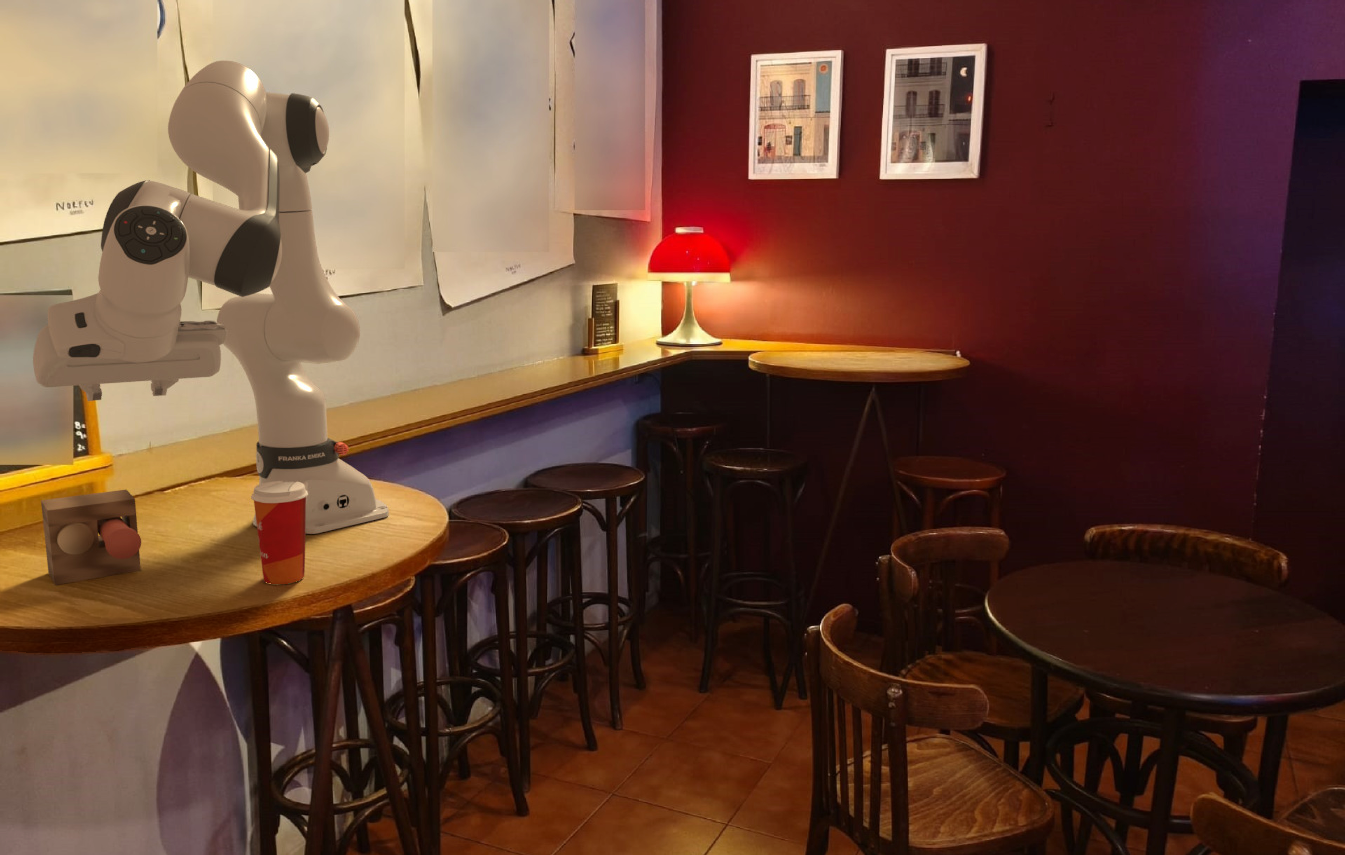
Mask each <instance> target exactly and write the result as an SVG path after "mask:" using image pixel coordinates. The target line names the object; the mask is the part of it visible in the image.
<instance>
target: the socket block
mask: <svg viewBox="0 0 1345 855" xmlns="http://www.w3.org/2000/svg"><path fill="white" fill-rule="evenodd" d="M40 505H41V513H42V523H43V532H44V541H45V542H44V543H45V552H46V562H47V571H48V574H49V577H50V578H51V581H52V582H53V585H54V586H58V585H63V584H68V583H75V582H81V581H86V580H92V579H98V578H103V577H109V576H115V575H121V574H127V573H131V572H132V573H133V572H137V571H138V572H139V571H142V569H141V567H142V566H141V557H140V556H141V555H140V550H139V551H138V552H137V553H136V554H135V555H133V556H132V557H130V558H126V559H117V558H114V557H112V556H111V555H110V554H109V553H108V551H107V550H106V547H105V542H104V540H103V539H102V538H101V536H100V535H99V533H98V528H97V520H101V519H108V518H115V517H121V519H122V520H123V521H124V522H125V523H126V525H127V526H128V527H129V528H131V529H133V530H135V531H136V532H137V533H138V534H139V531H138V530H139V529H138V520H137V518H138V517H137V508H136V498H135V497H134V496H133V495H132V494H131V493H130V492H129V491H128V490H127V489H118V490H113V491H103V492H97V493H96V492H95V493H88V494H81V495H74V496H73V495H71V496H67V497H66V496H64V497H58V498H57V497H56V498H50V499H49V498H48V499H42V500H40Z"/></svg>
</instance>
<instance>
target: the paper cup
mask: <svg viewBox="0 0 1345 855" xmlns="http://www.w3.org/2000/svg"><path fill="white" fill-rule="evenodd" d="M307 495H308V492H307V491H306V489H305V486H304V484H303V483H301V482H296V483H294V482H293V481H285V482H283V481H273V482H267V483H263V484H260V485H259V484H257V485H256V486H254V488H253V493H252V494H251V496H250V498H251V500H252V501H253V506H254V515H255V514H256V523H257V527H256V530H257V537H258V546H259V547H258V548H259V554H260V555H259V556H260V563H261V570H262V576H263V580H264V583H266V582H267V583H271V584H278V585H277V586H280V585H279V584H283V585H282V586H284V584H287V585H289V584H288V583H293V582H296V581H299V580H301V579H302V578H303V577H304V578H305V572H306V571H305V567H306V566H305V565H306V564H305V563H306V533H305V529H306V496H307ZM304 578H303V579H304ZM303 579H302V580H303ZM302 580H301V581H302ZM299 582H300V581H299ZM267 583H266V584H267ZM296 583H297V582H296ZM271 584H270V585H271ZM293 584H294V583H293Z"/></svg>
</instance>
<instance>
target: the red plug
mask: <svg viewBox="0 0 1345 855" xmlns="http://www.w3.org/2000/svg"><path fill="white" fill-rule="evenodd" d="M97 528H98V536H101V538H102V539H103V540H104V542H105V547H106V550H107V551H108V553H109V554H110V555H111V556H112V557H114V558H117V559H126V558H130V557H132V556H133V555H135V554H136V553H137V552H138V551H139V552H140V548H141V546H142V538H141V535H140V534H139V532H138V533H137V532H136V531H135V530H133V529H131V528H129V527H128V526H127V525H126V523H125V522H124V521H123V520H122V517H115V518H108V519H101V520H97Z"/></svg>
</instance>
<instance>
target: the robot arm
mask: <svg viewBox="0 0 1345 855" xmlns="http://www.w3.org/2000/svg"><path fill="white" fill-rule="evenodd" d="M168 118H169V119H168V124H167V133H168V138H169V141H170V144H171V147H172V148H173V151H174V152H175V154H176V155H177V157H178V158H179V159H180V161H181V162H182V163H183V164H184V165H186V166H187V167H188V168H189V169H190V170H191V171H193V172H194V173H196V174H198V175H199V176H201V177H204V178H206V179H207V180H209V181H212V182H214V183H215V184H217V185H219V186H221V187H223V188H225V189H227V190H228V191H230V192H232V193H233V194H235V195H236V196H237V198H238V199H237V200H238V208H235V207H232V206H230V205H226V204H223V203H221V202H217V201H214V200H212V199H209V198H206V197H203V196H199V195H197V194H194V193H192V192H189V191H185V190H183V189H180V188H177V187H173V186H172V185H171V186H170V185H167V184H165V183H162V182H159V181H154V180H150V179H146V180H142V181H138V182H137V183H133V184H132V185H130V186H128V187H126V188H124V189H122V190H121V191H119V192H118V193H116V195H115V196H114V198H113V199H112V201H111V202H110V204H109V207H108V210H106V215H105V217H104V221H103V226H102V232H101V239H100V240H101V241H100V249H101V252H102V253H101V256H100V262H99V269H98V276H97V277H98V278H97V279H98V280H97V281H98V286H99V291H98V292H97V293H95V294H92V295H89V296H85V297H82V298H78V299H73V300H70V301H65V302H60V303H55V304H52V305H50V306H49V307H48V308H47V324H46V325H44V326H43V327H42V328H41V329H40V331H39V333H38V335H37V337H36V340H35V345H34V349H33V356H32V364H33V372H34V376H35V380H36V383H38V384H39V385H40V386H42V387H44V388H57V387H69V386H70V387H72V386H79V388H80V389H81V391H83V392H84V393H85V396H86V399H87V402H94V401H101V400H102V395H103V392H102V388H101V385H102V384H103V385H105V384H117V383H119V384H120V383H133V382H134V383H135V382H148V381H151V383H150V390H151V393H152V394H151V395H152V396H153V397H161V396H167V393H168V392H167V391H168V389H169V388H171V387H172V386H174V385H175V384H176V383H178V382H179V380H180V379H195V378H196V379H197V378H211V377H213V376H215V375H216V374H218V373H219V371H220V369H221V362H222V353H221V352H222V351H221V346H222V345H223V346H224V347H226V349H228V350H229V352H231V353H232V354H233V355H234V356H235V358H236V359H237V360H238V362H239V364H240V365H241V367H242V369H243V371H244V372H245V374H246V377H247V379H248V382H249V384H250V387H251V390H252V393H253V396H254V401H255V411H256V420H257V433H258V441H257V442H256V444H255V445H256V447H255V448H256V452H255V462H256V471H257V475H258V476H259V478H258V480H259V481H258V485H260V484H263V483H267V482H273V481H283V482H285V481H293V482H294V483H296V482H301V483H303V484H304V486H305V489H306V491H307V492H308V495H307V496H306V529H305V534H310V535H312V534H313V535H314V534H315V535H316V534H320V533H323V532H329V531H332V530H333V531H334V530H338V529H341V528H346V527H350V526H354V525H358V524H362V523H366V522H367V523H368V522H371V521H374V520H376V521H377V520H379V519H382V518H383V519H384V518H387V517H388V516H389V515H390V511H389V506H388V505H387V504H386V503H384V502H383V501H382V500H380V499H378V498H376V495H375V491H374V487H373V484H372V482H371V481H370V479H369V478H368V477H367V476H366V475H365V474H363V473H362V472H360V471H358V470H357V469H356V468H355V467H353V466H352V465H350V464H348V463H347V462H345V461H343V460H342V459H340V458H339V456H345V455H347V454H348V453H349V450H350V448H349V446H348V445H347V444H346V443H344V442H342V441H339V442H338V441H336V440H333V439H331V438H329V437H328V422H327V421H328V418H327V401H326V396H325V394H324V393H323V391H322V389H320V388H319V387H318V386H317V385H316V384H315V383H313V382H312V381H311V380H310V379H309V377H308V375H307V374H306V371H304V368H303V365H302V363H304V364H313V365H314V364H316V365H320V364H328V363H329V364H330V363H335V362H340V361H341V362H342V361H345V360H347V359H348V358H349V357H351V356H352V354H353V353H354V352H355V350H356V349H357V347H358V345H359V341H360V336H361V329H360V328H361V327H360V323H359V319H358V317H357V315H356V313H355V312H354V310H353V309H352V308H351V307H350V306H349V305H348V304H346V303H345V302H344V301H343V300H342V299H341V298H340V297H339V296H338V294H337V293H336V292H335V290H334V288H333V287H332V286H331V284H330V282H329V280H328V279H327V277H326V274H325V272H324V270H323V267H322V264H321V262H320V258H319V255H318V254H319V253H318V250H317V242H316V235H315V225H314V216H313V207H312V206H313V205H312V198H311V192H310V186H309V181H308V178H307V177H308V176H307V173H310V171H311V168H312V167H313V166H315V165H317V164H319V162H320V161H321V160H322V159H323V158H324V156H325V155H326V153H327V149H328V145H329V141H330V128H329V123H328V120H327V117H326V115H325V111H324V110H323V107H322V105H320V103H319V102H318V101H317V100H316V99H315V98H314V97H312V96H310V95H309V96H308V95H306V94H305V95H304V94H301V93H295V92H292V93H290V94H285V93H284V94H283V93H277V92H266V90H265V87H264V84H263V83H262V80H261V79H260V78H259V76H258V75H257V74H256V73H255V72H254V71H253V70H251V68H249V67H248V66H246V65H244V64H241V63H239V62H237V61H232V60H217V61H213V62H211V63H209V64H207V65H206V66H204V67H203V68H201V69H200V70H198V71H197V73H195V74H194V75H193V76H192V77H191V78H190V80H189V81H187V83H186V84H185V85H184V87H183V88H182V90H181V91H180V93H179V95H178V96H177V98H176V100H175V102H174V104H173V106H172V108H171V111H170V115H169V117H168ZM189 279H192V280H196V281H199V282H202V283H205V284H208V285H212V286H215V287H216V288H217V289H218V288H219V289H220V290H222V291H226V292H228V293H230V294H234V295H236V296H234V297H231V298H229V299H228V300H226V301H225V302H224V303H223V304H222V306H221V307H220V309H219V310H218V315H217V318H216V321H215V320H204V321H196V320H195V321H193V320H192V321H191V320H189V321H187V320H186V321H181V319H182V304H181V303H182V302H183V300H184V298H185V296H186V293H187V288H188V281H189ZM268 288H269V289H270V290H271V293H260V292H262V291H264V290H266V289H268ZM252 524H253V526H255V527H256V528H257V523H256V514H255V513H254V516H253V520H252Z"/></svg>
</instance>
